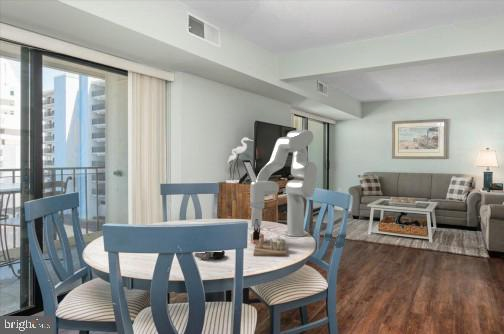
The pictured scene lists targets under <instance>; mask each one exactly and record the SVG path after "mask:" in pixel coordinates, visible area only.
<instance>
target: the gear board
mask: <svg viewBox="0 0 504 334" xmlns="http://www.w3.org/2000/svg"><path fill="white" fill-rule="evenodd" d="M269 242H270V243H266V242H264V243H263V238H260V239H259V243H256V244H255V243H254V244H255V245H254V250H253V256H254V257H285V258H286V257H287V256H288V255H287V254H288V253H287V245H286V239H284V238H276V237H274V238H271V239H270V241H269Z"/></svg>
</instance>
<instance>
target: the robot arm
mask: <svg viewBox="0 0 504 334" xmlns="http://www.w3.org/2000/svg"><path fill="white" fill-rule="evenodd" d="M313 141H314V134H313V132H312V131H311V130H309V129H298V130H297V129H296V130H291V131H289V132H287V134H286V136H282V137H279V138H277V140H276V142H275V144H274V146H273V149H272V153H271V155H270V159H269V161H268V162H267V163H266V164H265V165H264V166H263V167H262V168H261V169H260V171H259V173H258V175H257V176H256V180H255V181H251V182H250V188H249V189H250V192H249V195H250V196H249V197H250V198H249V199H250V203H249V208H250V209H251V217H250V219H251V220H250V221H251V222H250V223H251V224H250V227H251V228H253V231H252V234H253V240H259V234H261V227H262V219H263V218H262V217H263V209H265V201H266V200H265V196H266V195H267V196H275V195H277V194H278V193H279V191H280V186H279V184H278V183H277V182H276V181H274V180H269V178H270V177H271V175H273V174H274V173H276V172H278V171H279V170H282V169H283V168H284V166H285V164H286V161H287V158H288V156H289V153H292V161H291V167H290V174H291V176H292V177H293V178H297V179H291V180H289V181H288V182H287V183H286V185H285V193H286V194H285V195H286V200H287V201H286V202H287V203H286V204H287V210H286V212H287V214H286V215H287V216H286V217H287V218H286V221H287V222H286V230H285V231H284V235H285V236H288V237H295V238H297V237H298V238H299V237H300V238H301V237H305V236H307V234H308V233H307V232H306V230H305V228H304V227H305V226H304V225H305V203H304V199H303V198H305V199H306V198H307V199H308V198H312V197H313V195H314V193H315V191H316V184H317V178H318V167H317V165H316V164H315V162H313V161H308V149H307V147H308V146H310V145H311V144H312V142H313ZM300 178H301V179H300ZM302 179H303V180H302Z"/></svg>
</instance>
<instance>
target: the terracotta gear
mask: <svg viewBox="0 0 504 334" xmlns="http://www.w3.org/2000/svg"><path fill="white" fill-rule="evenodd" d="M260 238H263V243H265V234H263V233H260V234H259V239H260ZM250 243H251V244H256V243H259V240H253V233H251V234H250Z"/></svg>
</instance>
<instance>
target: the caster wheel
mask: <svg viewBox="0 0 504 334" xmlns="http://www.w3.org/2000/svg"><path fill="white" fill-rule="evenodd" d="M225 254H226V252H225V250H223V251H222V252H205V253H195V252H194V257H195V258H198V259H200V260H203V261H209V258H217V259H223V258H224V257H225Z"/></svg>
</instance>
